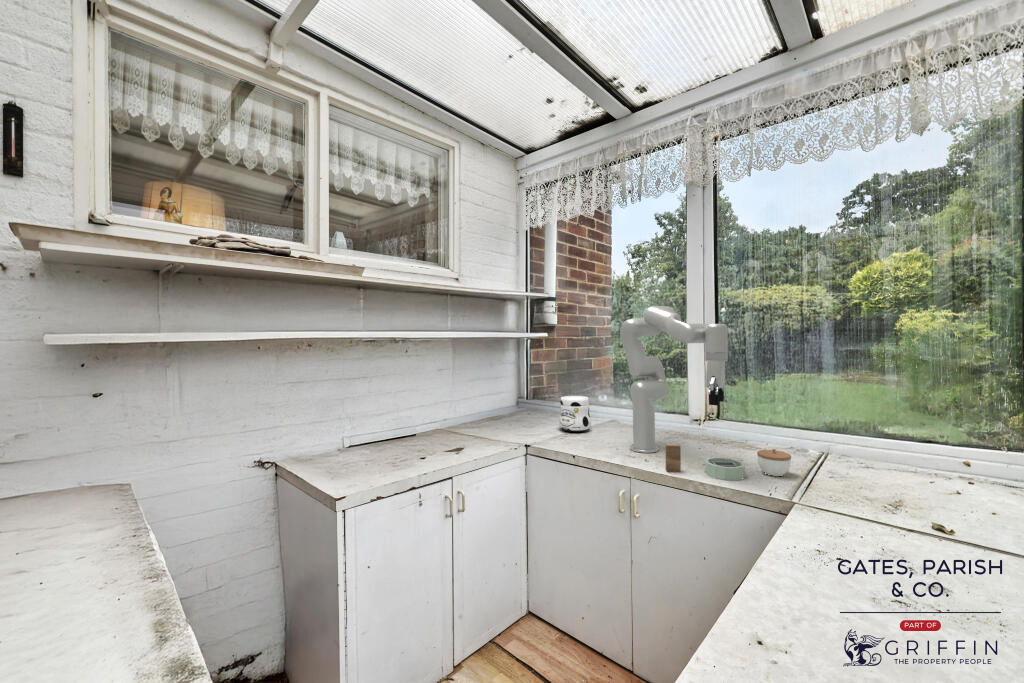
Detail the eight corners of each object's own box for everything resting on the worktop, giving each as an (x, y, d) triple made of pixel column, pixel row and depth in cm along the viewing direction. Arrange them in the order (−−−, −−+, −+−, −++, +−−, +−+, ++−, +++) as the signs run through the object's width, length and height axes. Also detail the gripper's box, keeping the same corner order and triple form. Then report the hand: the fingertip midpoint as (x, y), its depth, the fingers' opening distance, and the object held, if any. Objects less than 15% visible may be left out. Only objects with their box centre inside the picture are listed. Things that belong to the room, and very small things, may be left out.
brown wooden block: (665, 470, 165) (665, 444, 165) (679, 470, 165) (678, 444, 165) (667, 472, 163) (666, 446, 163) (680, 472, 162) (680, 446, 162)
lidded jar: (796, 479, 152) (796, 453, 152) (763, 478, 155) (763, 452, 154) (783, 470, 163) (783, 445, 163) (753, 468, 165) (753, 444, 165)
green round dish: (701, 468, 167) (701, 456, 167) (736, 469, 165) (736, 457, 165) (711, 479, 154) (711, 467, 154) (750, 480, 152) (750, 468, 152)
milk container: (558, 433, 227) (557, 400, 227) (560, 426, 244) (559, 395, 244) (591, 434, 225) (590, 400, 224) (590, 427, 242) (590, 395, 241)
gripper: (710, 355, 167) (710, 399, 167) (699, 358, 153) (700, 405, 154) (731, 356, 163) (731, 400, 163) (722, 358, 149) (723, 407, 149)
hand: (716, 403), depth 158 cm, fingers open, 9 cm apart
